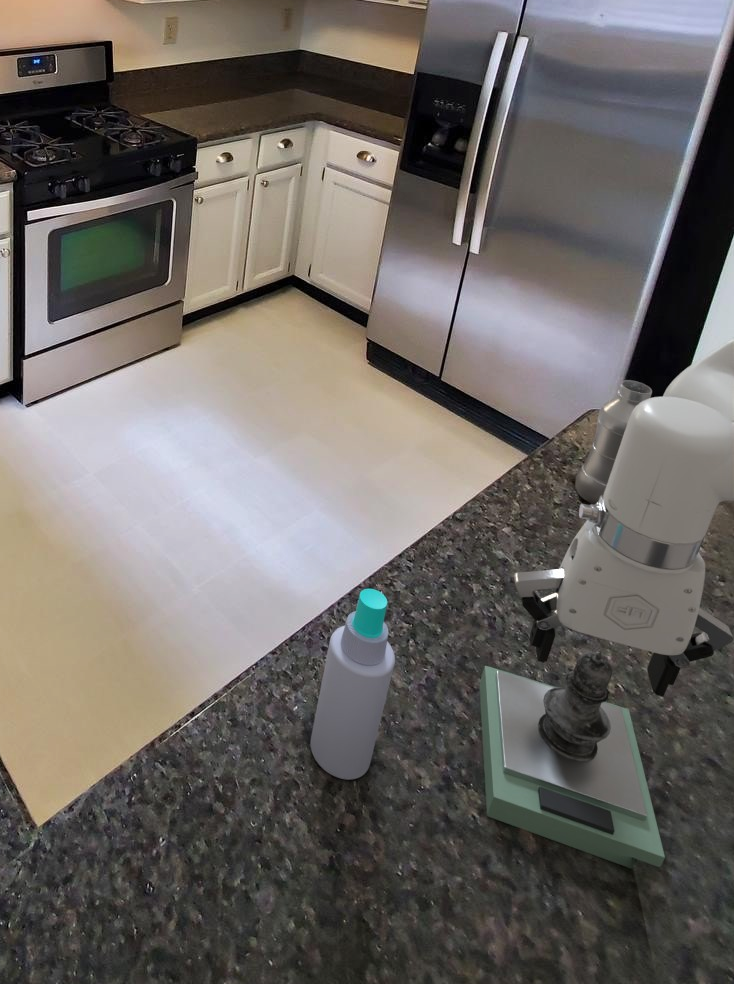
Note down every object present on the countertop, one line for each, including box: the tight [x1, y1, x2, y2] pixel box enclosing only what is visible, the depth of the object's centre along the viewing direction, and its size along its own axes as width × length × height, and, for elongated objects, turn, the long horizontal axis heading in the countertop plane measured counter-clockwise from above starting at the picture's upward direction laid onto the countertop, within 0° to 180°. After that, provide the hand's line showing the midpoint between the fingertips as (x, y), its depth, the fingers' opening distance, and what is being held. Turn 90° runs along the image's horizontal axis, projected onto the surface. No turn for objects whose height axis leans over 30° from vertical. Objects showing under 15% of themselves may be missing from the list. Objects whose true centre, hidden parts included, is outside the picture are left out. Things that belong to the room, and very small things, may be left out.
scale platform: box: [495, 671, 647, 821], centre depth 82 cm, size 12×12×1 cm
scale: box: [478, 665, 666, 870], centre depth 81 cm, size 14×16×4 cm
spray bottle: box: [310, 588, 396, 781], centre depth 79 cm, size 6×6×22 cm
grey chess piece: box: [538, 652, 613, 762], centre depth 79 cm, size 6×6×12 cm
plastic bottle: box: [574, 379, 653, 505], centre depth 116 cm, size 6×7×20 cm
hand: (595, 666), depth 77 cm, fingers open, 9 cm apart
